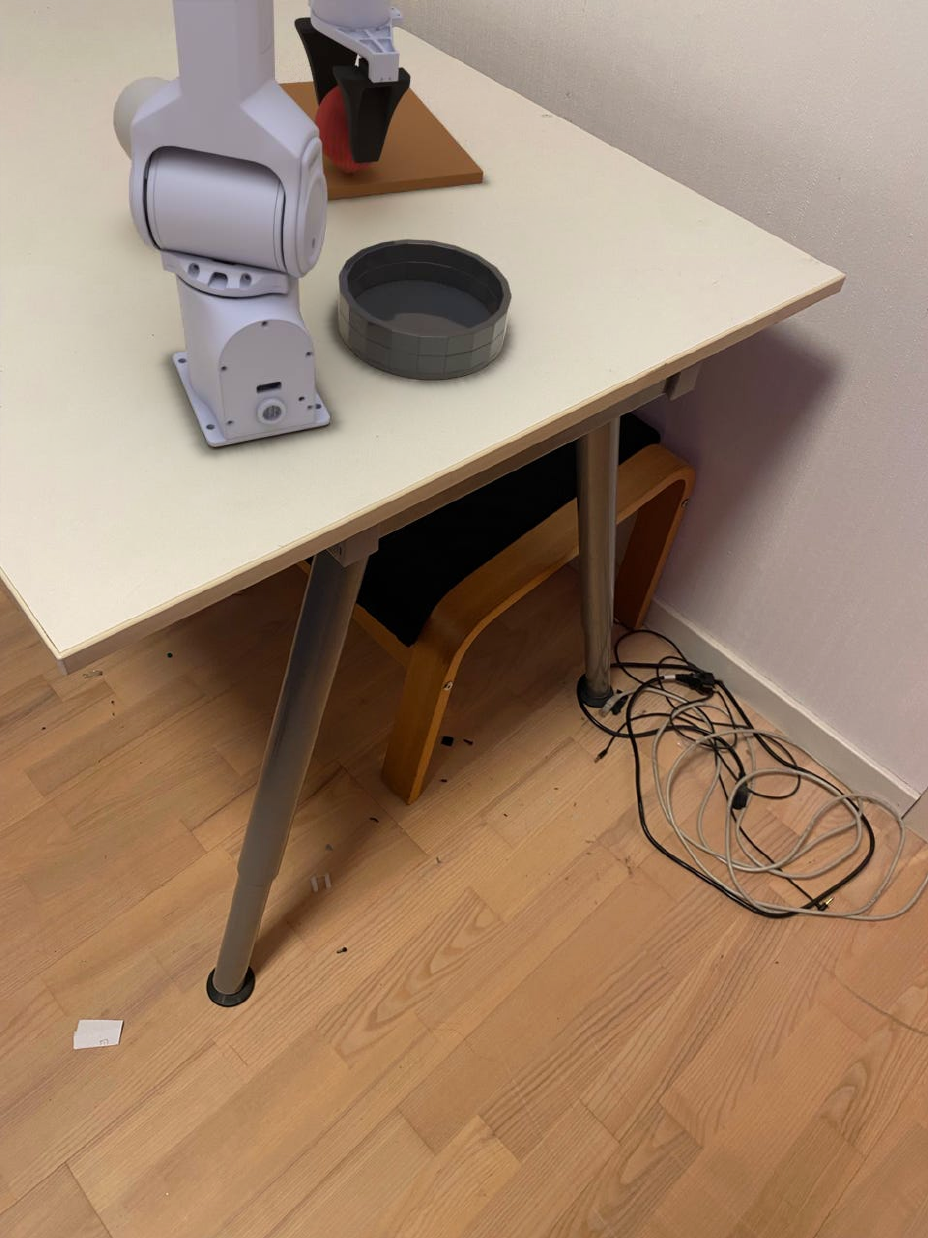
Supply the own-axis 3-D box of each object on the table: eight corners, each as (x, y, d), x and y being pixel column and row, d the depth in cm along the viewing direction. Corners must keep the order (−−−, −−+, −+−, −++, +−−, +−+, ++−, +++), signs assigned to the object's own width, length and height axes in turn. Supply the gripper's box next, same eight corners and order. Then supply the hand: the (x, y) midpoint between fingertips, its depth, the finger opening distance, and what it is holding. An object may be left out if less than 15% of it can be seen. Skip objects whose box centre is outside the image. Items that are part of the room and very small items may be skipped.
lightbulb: (134, 253, 69) (107, 99, 61) (130, 211, 73) (104, 60, 64) (217, 250, 71) (202, 100, 62) (209, 209, 74) (194, 62, 66)
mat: (482, 182, 82) (483, 171, 82) (311, 201, 77) (311, 189, 76) (398, 85, 93) (399, 74, 92) (243, 96, 88) (242, 85, 87)
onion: (388, 163, 81) (393, 64, 74) (377, 194, 77) (382, 93, 71) (322, 152, 80) (321, 52, 74) (308, 183, 77) (307, 81, 71)
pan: (531, 363, 67) (540, 321, 64) (374, 393, 62) (376, 349, 60) (462, 271, 73) (467, 230, 70) (315, 293, 69) (315, 250, 66)
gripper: (444, -20, 63) (427, 175, 74) (368, -90, 71) (363, 96, 82) (347, -17, 61) (344, 184, 72) (280, -90, 69) (286, 102, 79)
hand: (349, 138), depth 76 cm, fingers open, 7 cm apart
